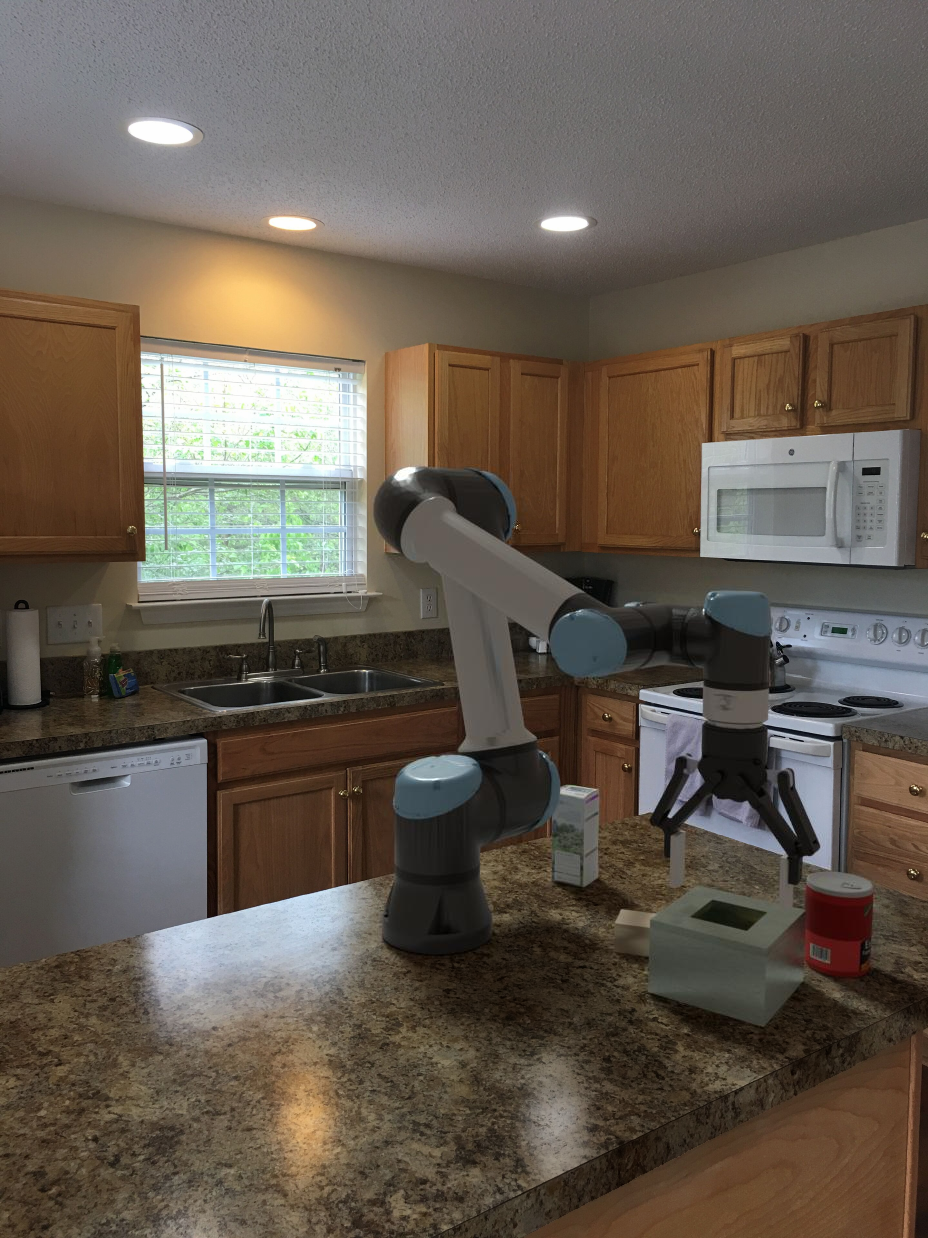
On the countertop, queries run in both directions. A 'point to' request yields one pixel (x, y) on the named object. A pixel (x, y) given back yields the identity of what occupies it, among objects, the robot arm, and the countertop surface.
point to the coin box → (727, 954)
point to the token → (632, 932)
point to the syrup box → (575, 836)
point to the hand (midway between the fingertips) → (729, 897)
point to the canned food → (838, 924)
